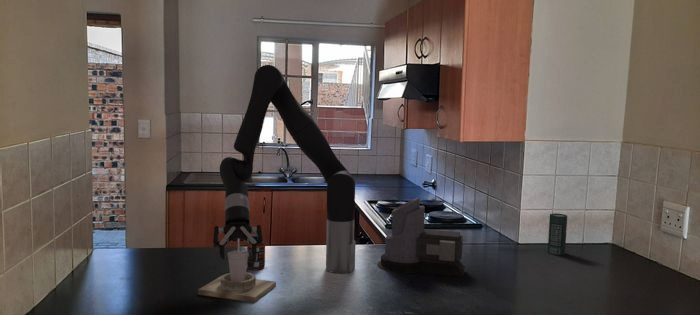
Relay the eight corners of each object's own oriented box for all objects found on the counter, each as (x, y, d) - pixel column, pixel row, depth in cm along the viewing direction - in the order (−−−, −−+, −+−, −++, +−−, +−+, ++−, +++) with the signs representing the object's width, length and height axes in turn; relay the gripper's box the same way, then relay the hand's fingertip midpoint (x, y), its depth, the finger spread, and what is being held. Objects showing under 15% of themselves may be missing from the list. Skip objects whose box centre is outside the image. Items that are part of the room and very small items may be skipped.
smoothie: (230, 289, 152) (230, 241, 151) (224, 283, 158) (224, 236, 157) (251, 286, 155) (252, 239, 154) (245, 280, 161) (245, 235, 160)
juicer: (372, 270, 180) (374, 198, 177) (381, 257, 195) (383, 191, 193) (463, 279, 172) (466, 204, 170) (465, 265, 188) (468, 197, 186)
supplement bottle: (261, 271, 175) (261, 237, 174) (244, 269, 177) (244, 236, 176) (267, 265, 181) (267, 233, 180) (251, 264, 182) (251, 232, 181)
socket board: (275, 286, 161) (276, 273, 160) (255, 302, 147) (255, 288, 147) (222, 279, 166) (222, 267, 165) (198, 294, 152) (198, 281, 152)
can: (566, 252, 208) (568, 214, 206) (562, 255, 203) (565, 217, 201) (549, 249, 211) (552, 212, 210) (546, 253, 206) (548, 215, 205)
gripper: (213, 205, 160) (213, 252, 150) (261, 204, 163) (263, 250, 153) (213, 218, 165) (213, 265, 155) (259, 217, 169) (262, 263, 159)
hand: (238, 258), depth 154 cm, fingers open, 8 cm apart
